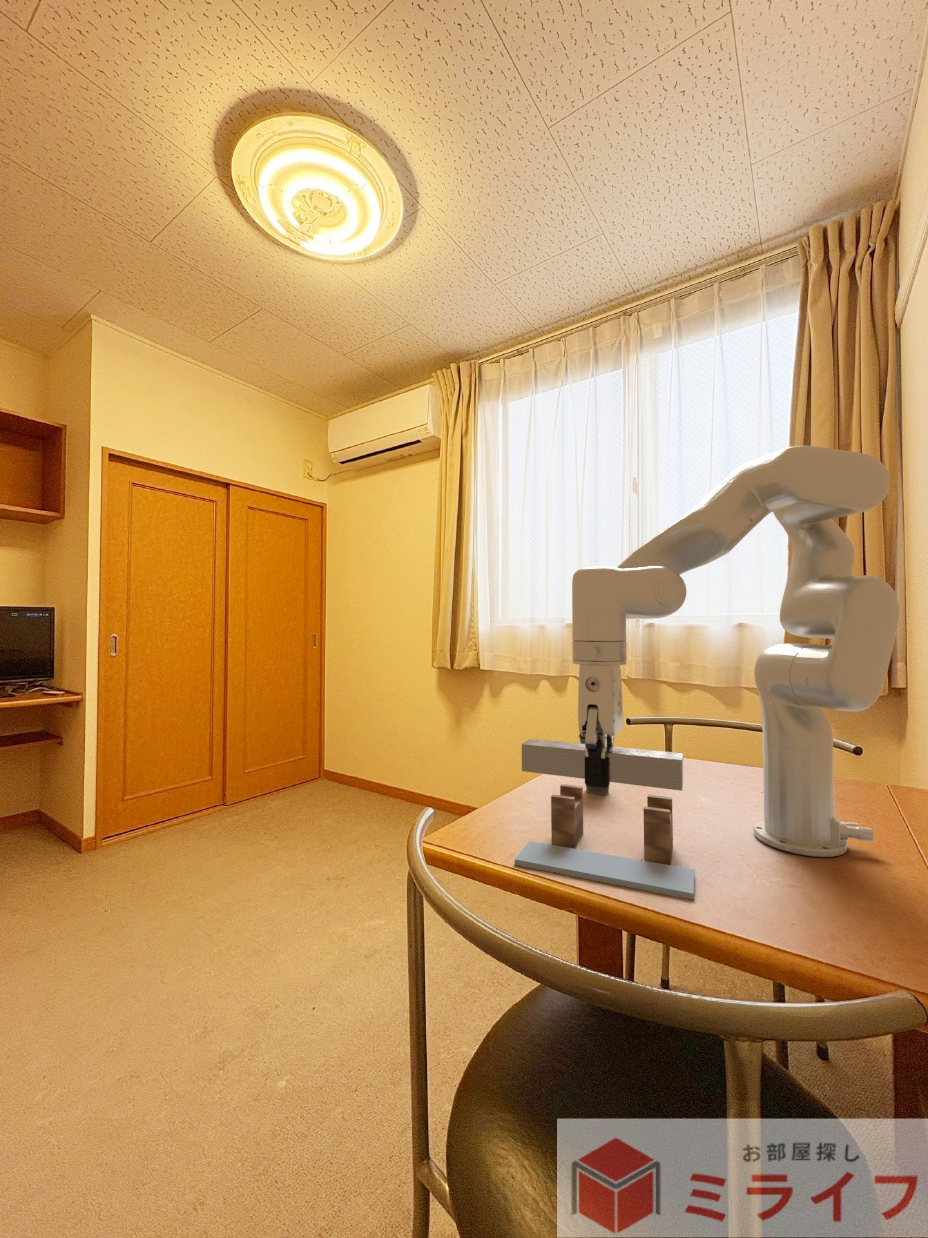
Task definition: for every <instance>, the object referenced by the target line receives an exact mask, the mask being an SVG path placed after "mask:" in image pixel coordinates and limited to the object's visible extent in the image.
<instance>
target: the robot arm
mask: <svg viewBox="0 0 928 1238" xmlns="http://www.w3.org/2000/svg"><path fill="white" fill-rule="evenodd" d="M890 484H891V479H890V474H889V472H888V470H887V467H886V466H885V465H884V464H883V463H882V462H881V461H880V460H879V459H878V458H876V457H874V456H872V455H870V454H868V453H863V452H857V451H852V450H851V451H850V450H843V449H839V448H838V449H837V448H829V447H823V446H814V445H812V446H811V445H794V446H789V447H785V448H781V449H779V450H777V451H774V452H772V453H769V454H767V455H764V456H761V457H759V458H755V459H754V460H751V461H749V462H746V463H744V464H742V465H741V466H739V467H738V468H735V470H733V471H732V472H731V473H730V474H729V475H728V476H726V478H724V479H723V480H722V481H721V482H720V483H719V484H718V485H717V486H715V488H713V489H712V490H711V491H710V492H709V493H708V494H707V495H706V496H705V497H704V498H703V499H702V500H701V501H700V502H699V503H697V504H696V506H694V508H692V509H691V510H690V511H688V513H686V515H684V516H682V517H681V518H680V519H678V520H677V521H675V522H674V523H672V524H671V525H669V526H668V527H667V528H665V529H663V531H661V532H660V533H658V534H657V535H655V536H654V537H653V538H651V539H650V540H648V541H647V542H645V543H643V545H641V546H640V547H638V548H637V549H635V551H633V552H632V553H631V554H630V555H629V556H628V557H626V558H625V559H624V560H623V561H622V562H621V563H620V564H619V565H617V567H613V566H592V567H591V566H590V567H582V568H579V569H577V570H576V571H575V572H574V574H573V575H572V579H571V580H572V581H571V582H572V583H571V594H572V595H571V597H572V598H571V599H572V600H571V601H572V603H571V605H572V606H571V609H572V611H571V613H572V616H571V617H572V618H571V619H572V620H571V622H572V623H571V624H572V629H571V632H572V646H571V647H572V664H574V665H578V666H579V668H578V678H577V679H578V687H577V688H578V692H577V693H578V695H577V697H578V699H577V720H578V721H577V722H578V723H577V724H578V731H579V734H580V733H581V734H582V735H586V736H585V779H584V784H585V786H586V785H587V786H594V787H602V788H607V787H608V786H609V787H610V785H609V758H606V751H607V746H611V747H614V743H613V737H616V736H617V735H618V734H619V733H620V732H621V731H622V729H623V727H624V707H623V705H624V704H623V684H622V683H623V681H622V673H621V672H622V670H621V666H625V665H627V620H629V619H630V620H631V619H641V620H644V619H645V620H646V619H647V620H649V619H662V618H666V617H669V616H672V615H673V614H674V613H676V612H677V611H679V610H680V609H681V608H682V607H683V605H684V603H685V601H686V597H687V585H686V583H685V581H684V579H683V577H682V574H684V573H686V572H689V571H692V570H694V569H697V568H700V567H703V566H706V565H707V564H710V563H711V562H713V561H716V560H717V559H718V560H719V558H722V557H723V556H725V555H728V554H729V553H730V552H731V551H732V550H733V549H734V548H735V547H736V546H737V545H738V544H739V543H740V542H741V541H742V540H743V539H744V538H745V537H746V536H748V534H749V533H750V532H751V531H752V530H753V529H754V528H755V527H756V526H757V525H758V524H759V523H761V522H762V521H763V520H764V518H766V517H767V516H768V515H769V514H771V513H773V515H774V517H775V518H776V520H777V522H778V523H779V524H780V525H781V526H782V528H783V530H784V531H785V532H786V534H787V536H788V538H789V541H790V544H791V548H792V549H791V550H792V557H791V562H790V568H789V572H788V576H787V580H786V584H785V587H784V591H783V594H782V595H783V596H782V599H781V603H780V609H779V622H780V625H781V627H782V628H783V629H784V631H785V632H786V633H789V634H790V635H793V636H796V637H801V638H806V639H807V638H809V639H810V638H811V639H833V641H832V645H831V644H815V643H796V642H794V643H792V642H790V643H780V644H775V645H772V646H770V647H768V648H766V649H765V650H763V651H762V652H761V653H760V655H759V656H758V658H757V659H756V661H755V664H754V680H755V685H756V689H757V693H758V699H759V704H760V709H761V710H760V711H761V720H762V765H763V767H762V771H763V772H762V773H763V781H762V782H763V819H762V820H758V821H756V822H755V823H754V824H753V834H754V835H755V837H756V838H757V839H758V840H759V841H761V842H763V843H764V844H766V845H768V846H771V847H773V848H775V849H778V850H781V851H784V852H788V853H792V854H796V855H802V856H809V857H817V858H818V857H819V858H831V857H838V856H841V855H843V854H845V853H846V852H847V851H848V840H849V839H857V840H860V841H863V842H864V841H865V842H874V839H875V838H874V831H873V828H872V827H865V826H859V823H858V822H852V821H842V820H841V821H840V819H839V818H838V817H837V815H836V814H835V786H834V785H835V784H834V783H835V781H834V780H835V779H834V778H835V777H834V738H833V737H834V736H833V730H832V727H831V723H830V721H829V719H828V717H827V715H826V712H825V711H824V710H823V708H825V709H829V710H835V711H841V712H843V711H844V712H861V711H864V710H867V709H869V708H871V707H872V706H873V705H874V704H875V703H876V702H877V700H878V699H879V698H880V696H881V695H882V691H883V689H884V686H885V683H886V679H887V674H888V670H889V666H890V662H891V658H892V653H893V650H894V649H893V648H894V645H895V640H896V636H897V632H898V628H899V627H898V626H899V620H900V605H899V600H898V598H897V594H896V592H895V590H894V589H893V587H892V586H891V585H890V584H889V583H888V582H887V581H885V580H884V579H882V578H880V577H877V576H872V575H864V574H863V575H861V574H860V575H853V570H854V564H855V557H856V552H855V547H854V545H853V543H852V541H851V539H850V538H849V536H847V534H846V533H845V532H844V531H843V530H842V528H841V527H840V526H839V525H838V524H837V523H836V522H835V520H834V519H837V518H842V517H847V516H848V517H849V516H852V515H857V514H860V513H865V512H867V511H870V510H873V509H874V508H876V507H877V506H879V505H881V503H882V502H883V501H884V500H885V499H886V497H887V495H888V493H889V490H890ZM598 734H599V735H598ZM848 838H849V839H848Z"/></svg>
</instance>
